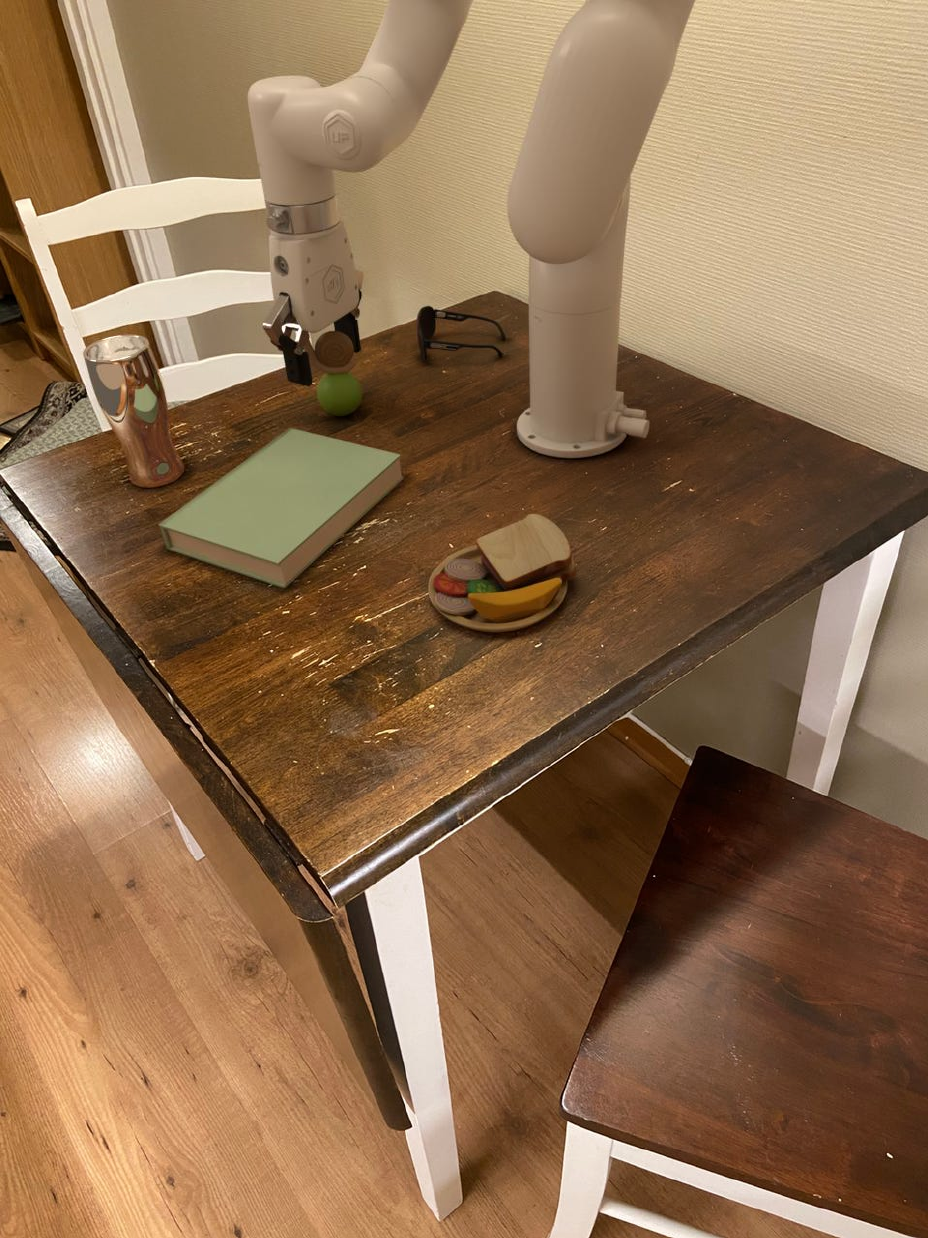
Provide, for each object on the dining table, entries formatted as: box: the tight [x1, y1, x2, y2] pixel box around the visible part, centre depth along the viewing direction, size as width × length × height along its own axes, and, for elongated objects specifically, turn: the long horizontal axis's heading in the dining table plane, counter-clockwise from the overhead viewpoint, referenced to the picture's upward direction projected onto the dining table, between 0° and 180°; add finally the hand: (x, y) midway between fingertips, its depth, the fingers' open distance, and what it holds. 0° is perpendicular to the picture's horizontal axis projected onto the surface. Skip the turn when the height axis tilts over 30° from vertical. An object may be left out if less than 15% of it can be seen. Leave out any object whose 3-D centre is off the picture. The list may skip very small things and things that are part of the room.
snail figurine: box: [297, 322, 363, 417], centre depth 104 cm, size 5×6×12 cm
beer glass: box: [82, 333, 185, 489], centre depth 95 cm, size 7×7×15 cm
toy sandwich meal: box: [427, 513, 577, 633], centre depth 78 cm, size 12×14×5 cm
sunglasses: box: [416, 305, 506, 361], centre depth 119 cm, size 10×12×5 cm
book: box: [158, 427, 405, 589], centre depth 91 cm, size 15×21×3 cm
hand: (325, 366), depth 104 cm, fingers open, 9 cm apart
